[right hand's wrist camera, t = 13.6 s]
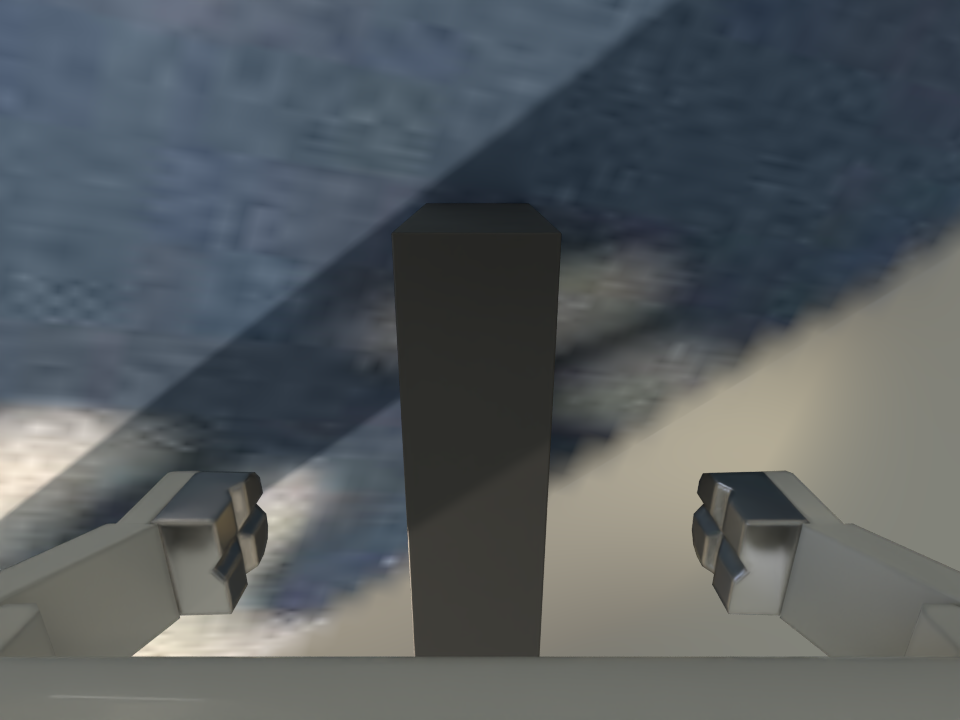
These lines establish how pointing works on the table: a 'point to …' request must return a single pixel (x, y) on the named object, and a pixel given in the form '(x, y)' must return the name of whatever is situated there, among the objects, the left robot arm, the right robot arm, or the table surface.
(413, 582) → the box
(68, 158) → the table surface
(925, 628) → the right robot arm
